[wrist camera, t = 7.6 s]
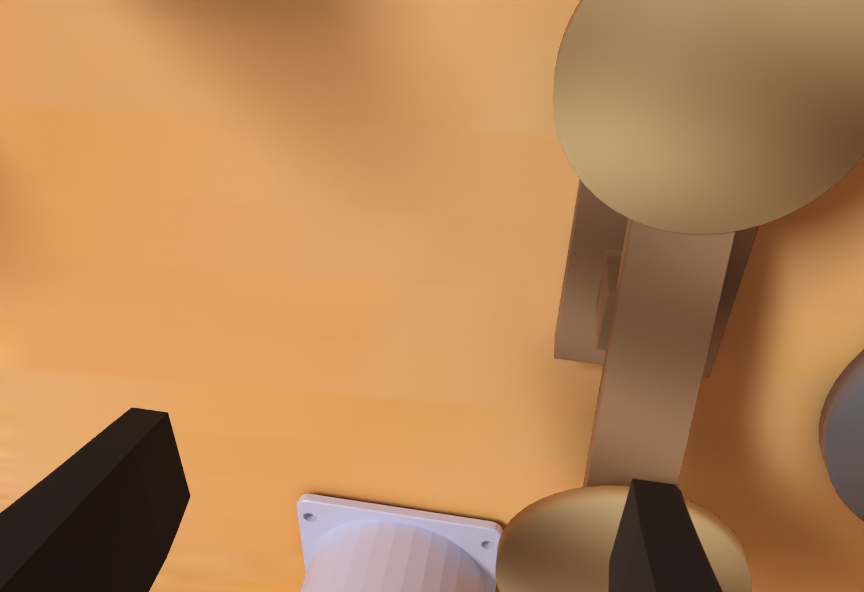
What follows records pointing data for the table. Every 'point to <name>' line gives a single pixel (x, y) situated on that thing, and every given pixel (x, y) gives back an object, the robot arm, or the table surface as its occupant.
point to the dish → (845, 435)
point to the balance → (675, 232)
